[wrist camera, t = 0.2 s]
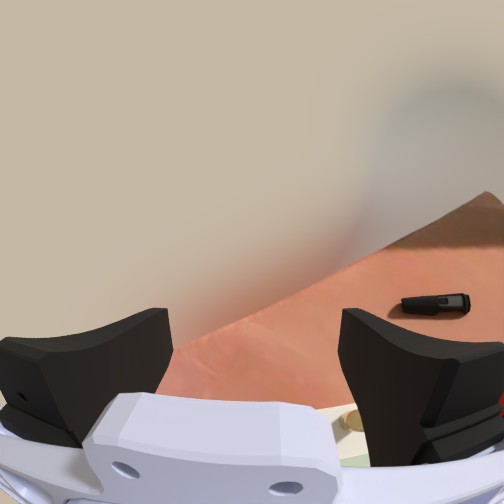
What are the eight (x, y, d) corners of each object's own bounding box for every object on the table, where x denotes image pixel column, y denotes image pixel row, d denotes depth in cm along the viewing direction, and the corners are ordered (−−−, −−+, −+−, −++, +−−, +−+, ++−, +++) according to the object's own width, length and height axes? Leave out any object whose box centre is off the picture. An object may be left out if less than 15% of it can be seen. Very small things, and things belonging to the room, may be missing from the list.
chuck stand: (377, 491, 26) (383, 494, 24) (257, 509, 27) (255, 514, 24) (369, 400, 35) (375, 398, 32) (251, 416, 35) (249, 415, 33)
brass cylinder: (361, 428, 32) (376, 428, 26) (340, 432, 32) (352, 434, 26) (359, 409, 33) (374, 405, 28) (338, 413, 33) (349, 410, 28)
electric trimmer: (395, 298, 44) (401, 289, 41) (464, 296, 41) (472, 288, 39) (397, 318, 42) (403, 311, 39) (468, 314, 39) (476, 307, 37)
